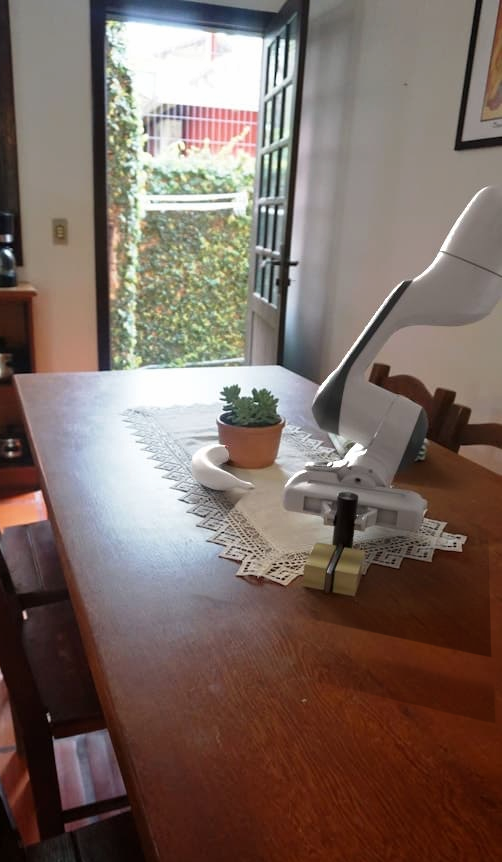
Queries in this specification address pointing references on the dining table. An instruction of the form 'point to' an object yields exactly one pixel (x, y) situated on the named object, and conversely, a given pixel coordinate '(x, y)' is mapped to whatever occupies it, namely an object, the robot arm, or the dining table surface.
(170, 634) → the dining table surface
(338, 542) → the knife
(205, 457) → the banana
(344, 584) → the slotted cream block
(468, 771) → the dining table surface
